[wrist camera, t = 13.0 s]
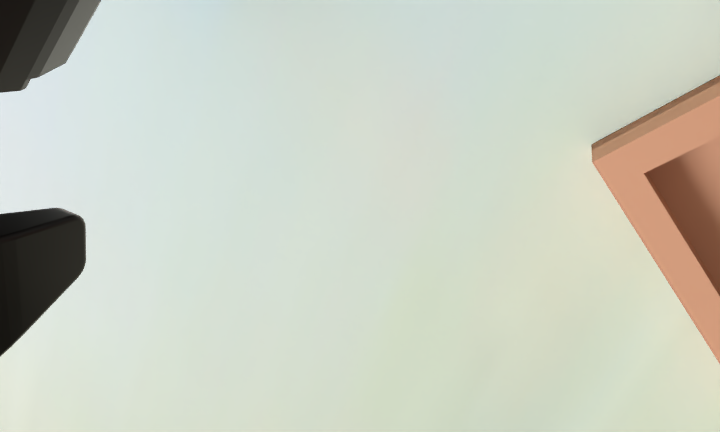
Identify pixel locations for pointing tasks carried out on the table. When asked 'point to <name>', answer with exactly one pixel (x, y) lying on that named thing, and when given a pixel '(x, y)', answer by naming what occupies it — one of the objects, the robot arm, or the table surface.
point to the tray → (674, 196)
